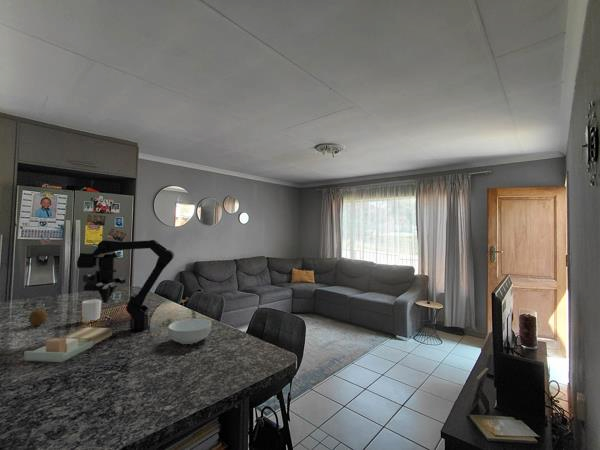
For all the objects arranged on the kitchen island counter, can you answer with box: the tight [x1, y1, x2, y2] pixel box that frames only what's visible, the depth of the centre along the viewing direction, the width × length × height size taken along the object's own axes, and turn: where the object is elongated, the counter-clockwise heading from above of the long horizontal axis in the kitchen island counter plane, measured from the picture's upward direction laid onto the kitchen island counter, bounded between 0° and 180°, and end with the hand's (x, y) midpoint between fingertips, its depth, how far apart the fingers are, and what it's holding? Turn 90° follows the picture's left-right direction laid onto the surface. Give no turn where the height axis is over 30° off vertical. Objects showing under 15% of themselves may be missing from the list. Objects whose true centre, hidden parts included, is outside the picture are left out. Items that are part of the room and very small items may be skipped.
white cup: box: [81, 298, 103, 324], centre depth 143 cm, size 8×8×10 cm
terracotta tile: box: [45, 337, 66, 353], centre depth 105 cm, size 5×5×3 cm
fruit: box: [28, 308, 48, 327], centre depth 135 cm, size 6×6×8 cm
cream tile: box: [66, 338, 78, 352], centre depth 109 cm, size 5×5×3 cm
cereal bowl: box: [167, 318, 212, 345], centre depth 121 cm, size 17×17×7 cm
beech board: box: [62, 327, 113, 345], centre depth 120 cm, size 12×12×3 cm
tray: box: [23, 341, 95, 363], centre depth 107 cm, size 14×14×3 cm
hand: (105, 302), depth 129 cm, fingers closed
